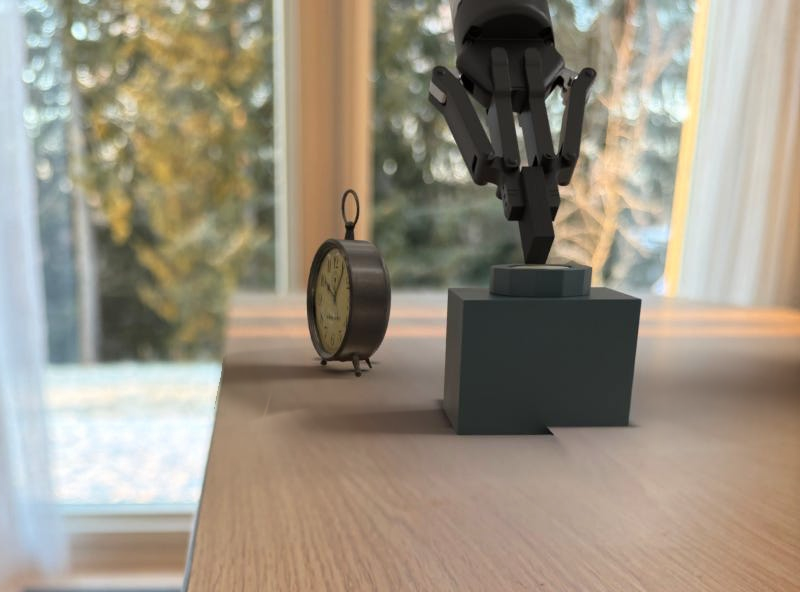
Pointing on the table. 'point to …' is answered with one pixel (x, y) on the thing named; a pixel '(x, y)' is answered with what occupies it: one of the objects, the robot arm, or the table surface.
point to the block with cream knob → (539, 352)
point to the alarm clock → (348, 297)
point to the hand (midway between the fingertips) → (539, 250)
